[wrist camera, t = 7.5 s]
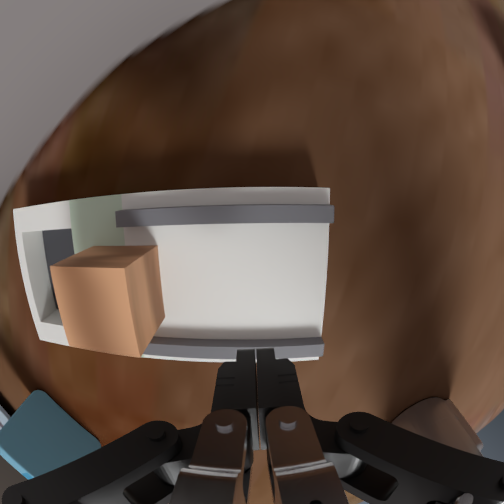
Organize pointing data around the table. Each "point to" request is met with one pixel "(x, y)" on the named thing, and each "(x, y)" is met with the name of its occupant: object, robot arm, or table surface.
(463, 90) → the table surface
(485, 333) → the table surface
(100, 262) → the terracotta cube
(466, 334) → the table surface
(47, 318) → the tray
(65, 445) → the blue square slab
